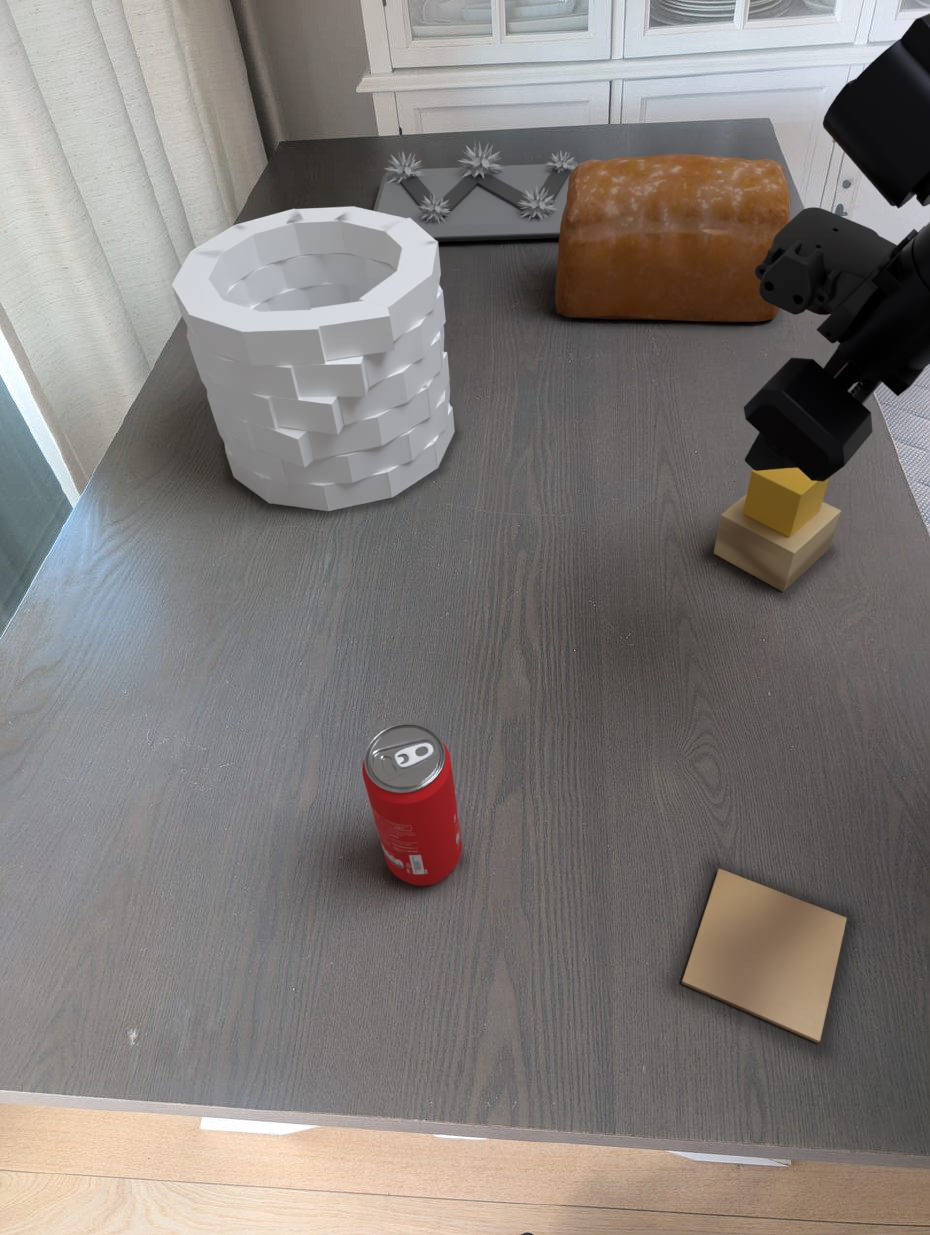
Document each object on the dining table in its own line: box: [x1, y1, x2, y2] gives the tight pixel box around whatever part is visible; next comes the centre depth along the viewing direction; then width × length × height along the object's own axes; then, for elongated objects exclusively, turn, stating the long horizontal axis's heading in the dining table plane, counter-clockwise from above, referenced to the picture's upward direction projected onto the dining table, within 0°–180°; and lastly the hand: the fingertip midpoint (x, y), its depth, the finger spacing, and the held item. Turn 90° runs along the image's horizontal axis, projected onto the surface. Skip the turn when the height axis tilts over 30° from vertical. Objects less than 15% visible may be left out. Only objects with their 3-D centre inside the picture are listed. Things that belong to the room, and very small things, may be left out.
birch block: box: [713, 493, 842, 593], centre depth 76 cm, size 7×7×4 cm
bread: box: [554, 153, 792, 323], centre depth 102 cm, size 14×26×16 cm, turn 81°
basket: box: [170, 205, 456, 512], centre depth 86 cm, size 25×24×19 cm
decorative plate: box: [372, 140, 580, 243], centre depth 125 cm, size 30×22×7 cm
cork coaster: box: [681, 868, 848, 1044], centre depth 54 cm, size 8×8×1 cm
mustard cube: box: [743, 468, 831, 538], centre depth 73 cm, size 4×4×4 cm
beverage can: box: [361, 722, 463, 887], centre depth 56 cm, size 5×5×12 cm
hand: (785, 425), depth 61 cm, fingers open, 9 cm apart
